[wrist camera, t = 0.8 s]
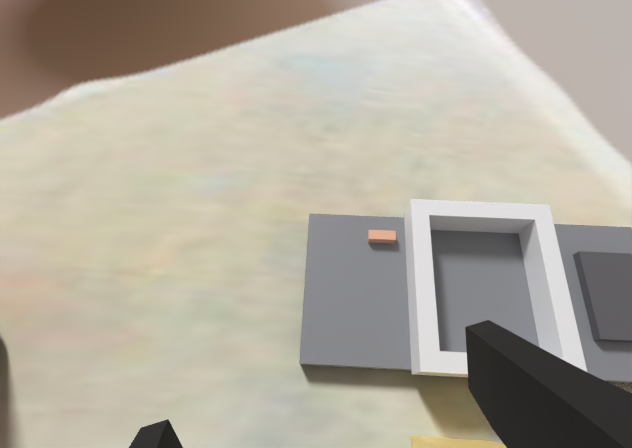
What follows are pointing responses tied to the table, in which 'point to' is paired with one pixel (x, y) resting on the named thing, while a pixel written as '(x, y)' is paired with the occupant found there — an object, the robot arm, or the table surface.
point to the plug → (451, 443)
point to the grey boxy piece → (465, 287)
